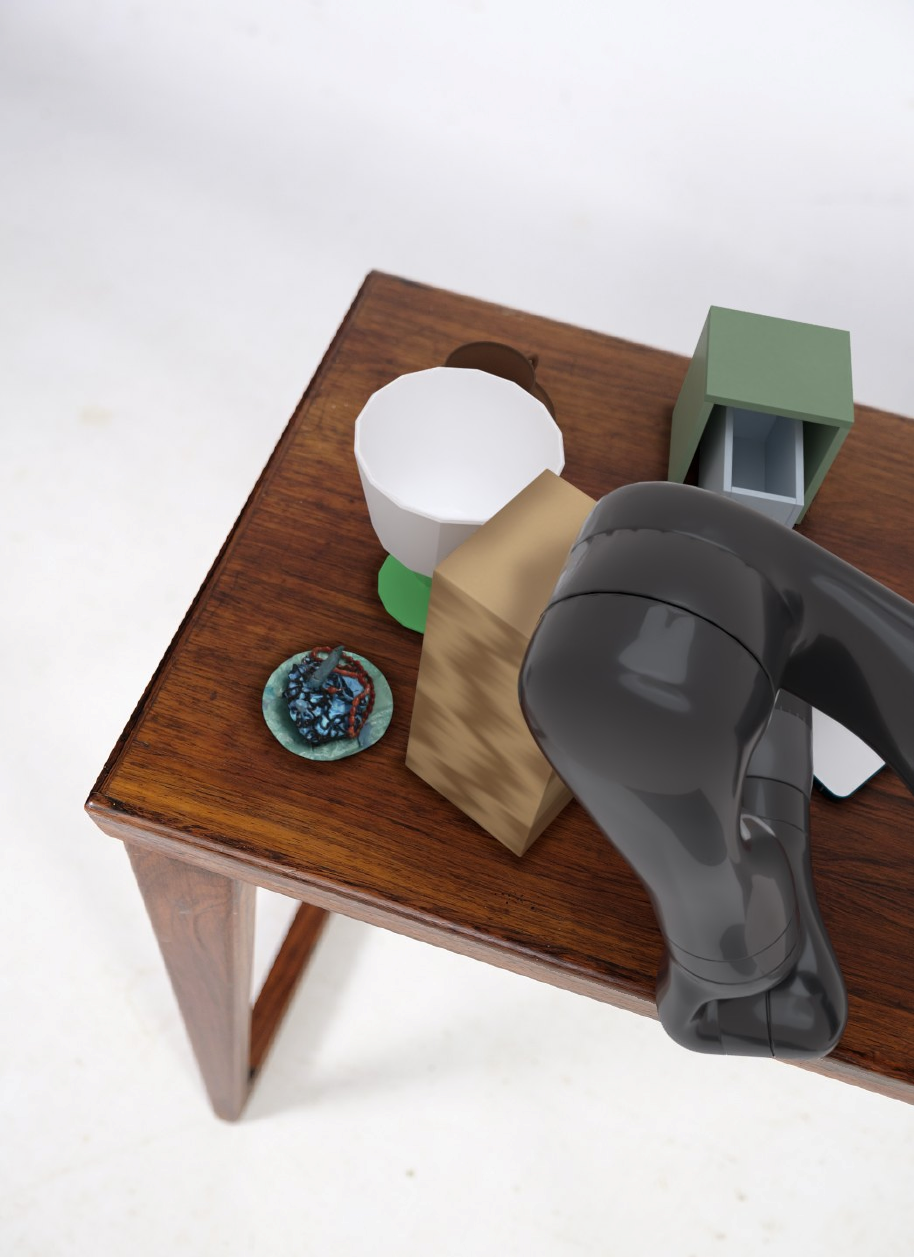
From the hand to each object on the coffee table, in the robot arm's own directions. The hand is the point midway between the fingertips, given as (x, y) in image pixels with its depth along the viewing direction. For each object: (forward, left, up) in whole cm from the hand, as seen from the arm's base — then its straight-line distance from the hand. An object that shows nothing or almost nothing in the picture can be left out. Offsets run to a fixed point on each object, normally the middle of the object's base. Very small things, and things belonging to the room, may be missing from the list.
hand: (754, 548), depth 86 cm
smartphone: (-8, +5, -7) cm, 11 cm away
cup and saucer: (+25, 0, -7) cm, 26 cm away
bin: (+5, -9, -7) cm, 12 cm away
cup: (+17, +15, -7) cm, 23 cm away
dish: (+16, +28, -7) cm, 33 cm away
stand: (+4, +23, -7) cm, 24 cm away
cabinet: (+7, -12, -7) cm, 16 cm away
